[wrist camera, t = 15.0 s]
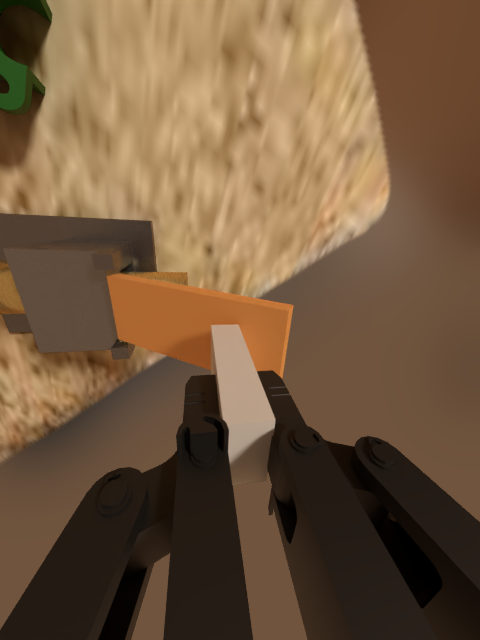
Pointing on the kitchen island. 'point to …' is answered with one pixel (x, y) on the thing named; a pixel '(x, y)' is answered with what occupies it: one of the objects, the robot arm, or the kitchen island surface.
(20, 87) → the clamp
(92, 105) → the kitchen island surface
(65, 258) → the hitch block
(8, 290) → the brass hitch pin
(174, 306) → the bar
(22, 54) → the kitchen island surface
